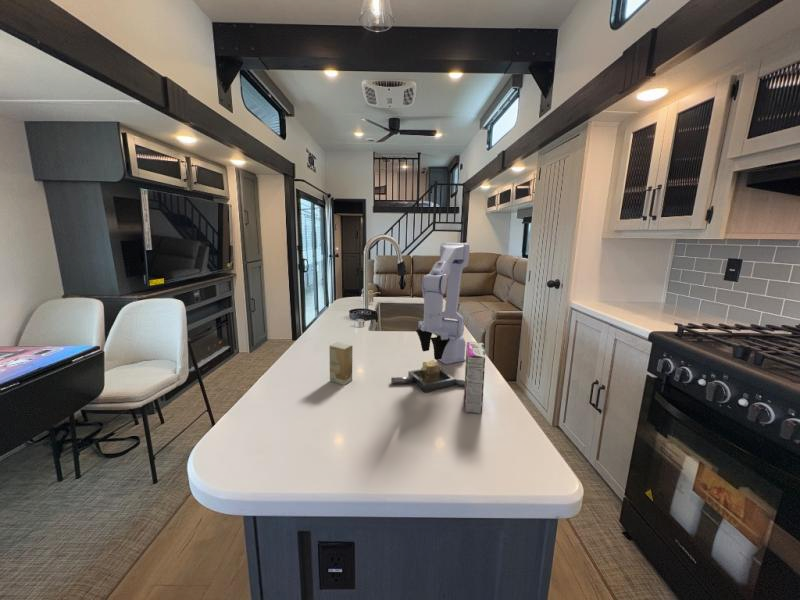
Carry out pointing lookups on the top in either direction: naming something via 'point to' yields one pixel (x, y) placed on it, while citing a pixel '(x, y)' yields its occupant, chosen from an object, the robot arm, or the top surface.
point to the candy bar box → (474, 377)
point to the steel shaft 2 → (459, 383)
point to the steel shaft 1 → (402, 380)
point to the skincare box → (341, 363)
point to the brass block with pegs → (430, 371)
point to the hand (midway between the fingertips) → (431, 354)
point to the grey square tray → (443, 382)
